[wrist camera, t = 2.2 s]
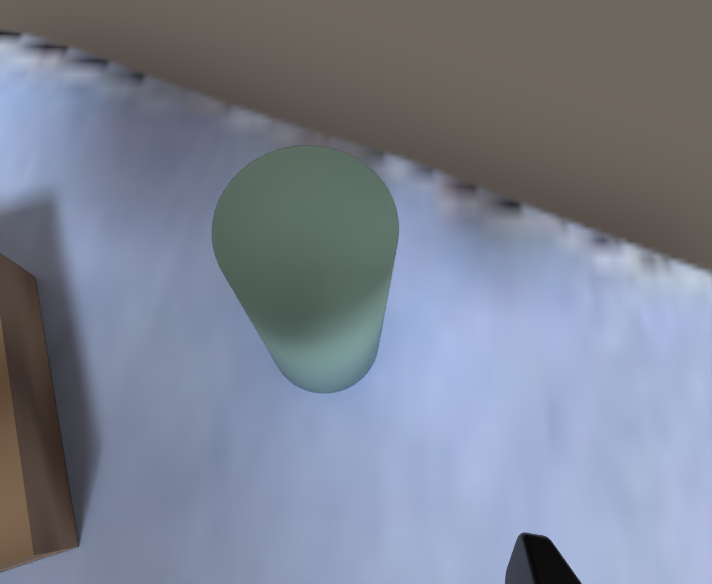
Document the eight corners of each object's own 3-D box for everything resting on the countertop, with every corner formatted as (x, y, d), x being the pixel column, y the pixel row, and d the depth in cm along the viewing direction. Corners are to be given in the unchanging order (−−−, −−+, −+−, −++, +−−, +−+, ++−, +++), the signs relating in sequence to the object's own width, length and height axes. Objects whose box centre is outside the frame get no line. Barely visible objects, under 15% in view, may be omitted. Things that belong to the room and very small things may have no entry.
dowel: (400, 352, 22) (436, 249, 13) (309, 415, 22) (276, 354, 12) (339, 268, 23) (331, 115, 14) (250, 326, 23) (177, 205, 13)
